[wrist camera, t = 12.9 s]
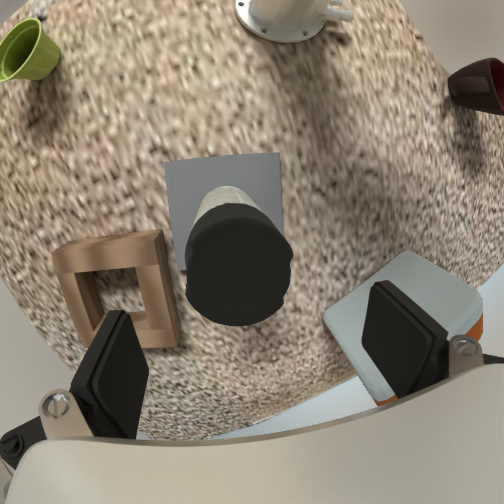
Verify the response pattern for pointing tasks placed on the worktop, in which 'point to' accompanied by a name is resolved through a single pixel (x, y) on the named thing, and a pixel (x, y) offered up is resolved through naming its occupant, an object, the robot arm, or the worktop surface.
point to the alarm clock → (421, 292)
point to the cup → (479, 86)
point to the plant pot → (27, 52)
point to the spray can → (235, 260)
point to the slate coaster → (216, 175)
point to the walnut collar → (114, 257)
